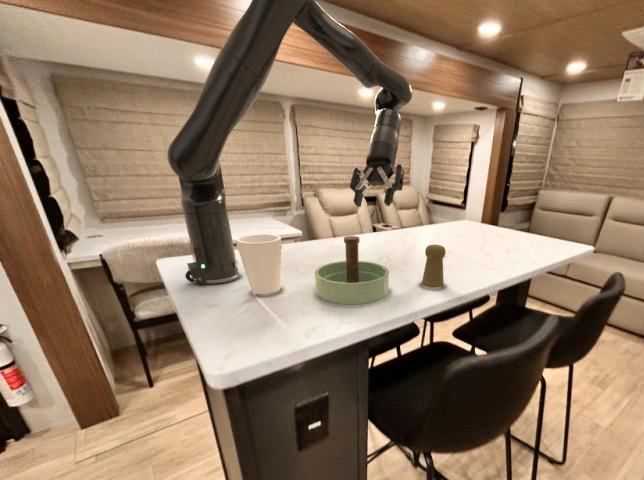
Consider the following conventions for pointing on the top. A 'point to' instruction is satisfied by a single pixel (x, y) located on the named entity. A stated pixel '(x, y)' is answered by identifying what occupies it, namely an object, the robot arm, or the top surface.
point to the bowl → (365, 291)
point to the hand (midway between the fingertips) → (371, 205)
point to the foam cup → (261, 261)
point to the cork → (434, 266)
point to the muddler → (352, 259)
